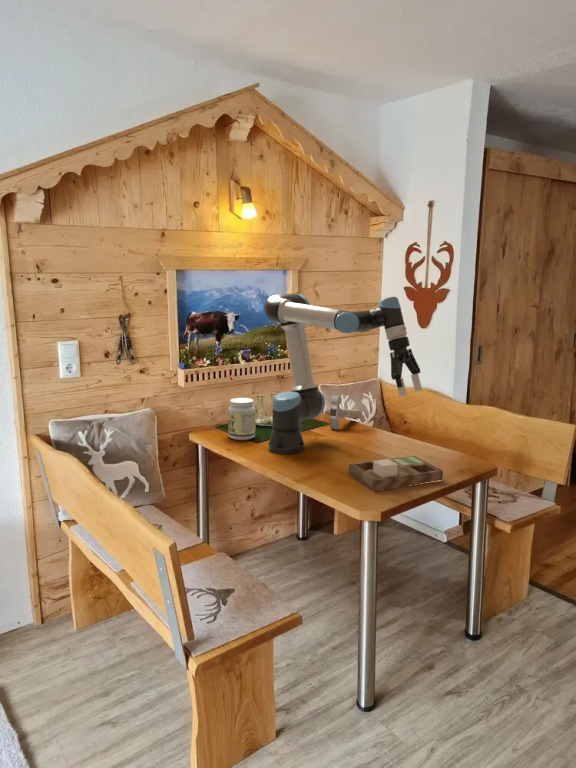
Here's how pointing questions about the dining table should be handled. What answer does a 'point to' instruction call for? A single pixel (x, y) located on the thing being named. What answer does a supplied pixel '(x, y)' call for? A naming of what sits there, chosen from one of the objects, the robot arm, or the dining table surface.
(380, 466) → the block
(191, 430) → the dining table surface
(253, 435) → the supplement tub
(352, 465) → the board
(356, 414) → the hammer
